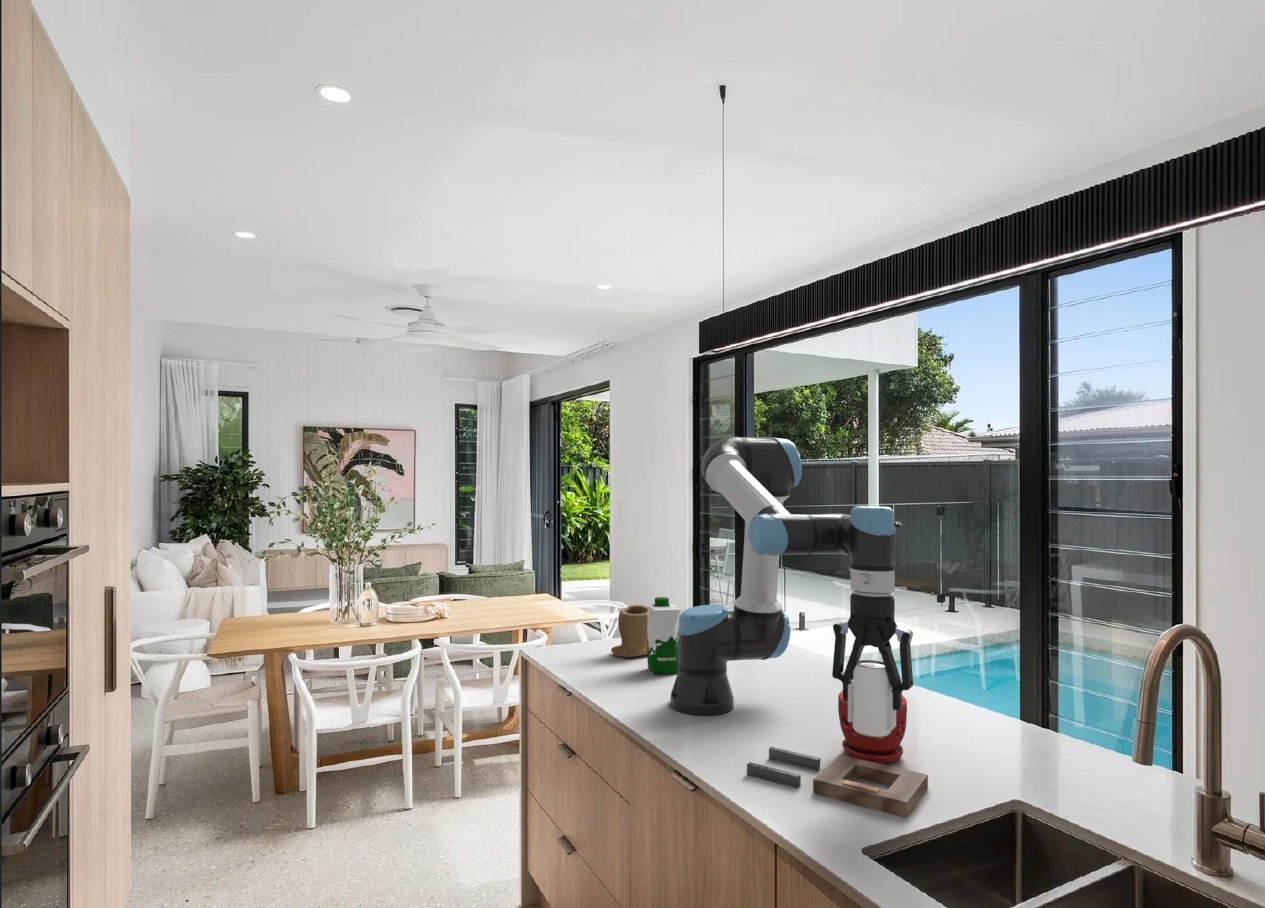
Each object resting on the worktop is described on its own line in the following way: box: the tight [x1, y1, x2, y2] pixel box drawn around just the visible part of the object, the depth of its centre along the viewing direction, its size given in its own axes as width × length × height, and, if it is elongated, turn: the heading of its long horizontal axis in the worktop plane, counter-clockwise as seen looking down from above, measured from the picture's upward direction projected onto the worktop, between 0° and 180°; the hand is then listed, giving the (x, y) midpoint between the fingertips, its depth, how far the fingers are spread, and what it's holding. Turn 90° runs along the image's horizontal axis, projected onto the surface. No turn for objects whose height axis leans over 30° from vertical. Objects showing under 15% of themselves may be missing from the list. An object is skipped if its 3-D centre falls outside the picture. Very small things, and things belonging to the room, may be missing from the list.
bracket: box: [746, 746, 821, 789], centre depth 144 cm, size 10×11×2 cm
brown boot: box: [610, 604, 648, 658], centre depth 232 cm, size 15×12×15 cm
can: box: [852, 659, 891, 737], centre depth 136 cm, size 6×6×12 cm
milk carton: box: [646, 596, 682, 676], centre depth 214 cm, size 9×9×20 cm
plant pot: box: [837, 690, 908, 764], centre depth 152 cm, size 13×13×12 cm
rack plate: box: [812, 754, 929, 818], centre depth 135 cm, size 16×14×3 cm
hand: (871, 723), depth 136 cm, fingers closed on can, 6 cm apart
